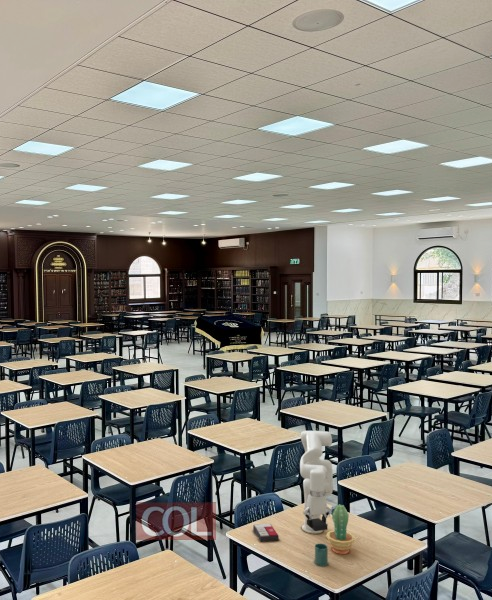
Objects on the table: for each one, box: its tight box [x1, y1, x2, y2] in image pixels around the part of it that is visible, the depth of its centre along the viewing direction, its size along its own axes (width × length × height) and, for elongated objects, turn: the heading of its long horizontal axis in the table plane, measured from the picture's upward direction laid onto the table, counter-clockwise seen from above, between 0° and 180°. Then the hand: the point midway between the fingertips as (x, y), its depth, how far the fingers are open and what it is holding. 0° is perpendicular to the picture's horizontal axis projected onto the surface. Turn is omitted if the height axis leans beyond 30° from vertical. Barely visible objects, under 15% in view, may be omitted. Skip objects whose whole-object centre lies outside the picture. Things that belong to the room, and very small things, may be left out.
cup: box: [314, 543, 329, 567], centre depth 295 cm, size 6×6×9 cm
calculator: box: [252, 523, 280, 543], centre depth 328 cm, size 11×4×15 cm
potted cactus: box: [326, 503, 356, 555], centre depth 309 cm, size 15×15×25 cm
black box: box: [307, 518, 329, 531], centre depth 296 cm, size 7×9×3 cm
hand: (317, 525), depth 296 cm, fingers closed on black box, 7 cm apart
